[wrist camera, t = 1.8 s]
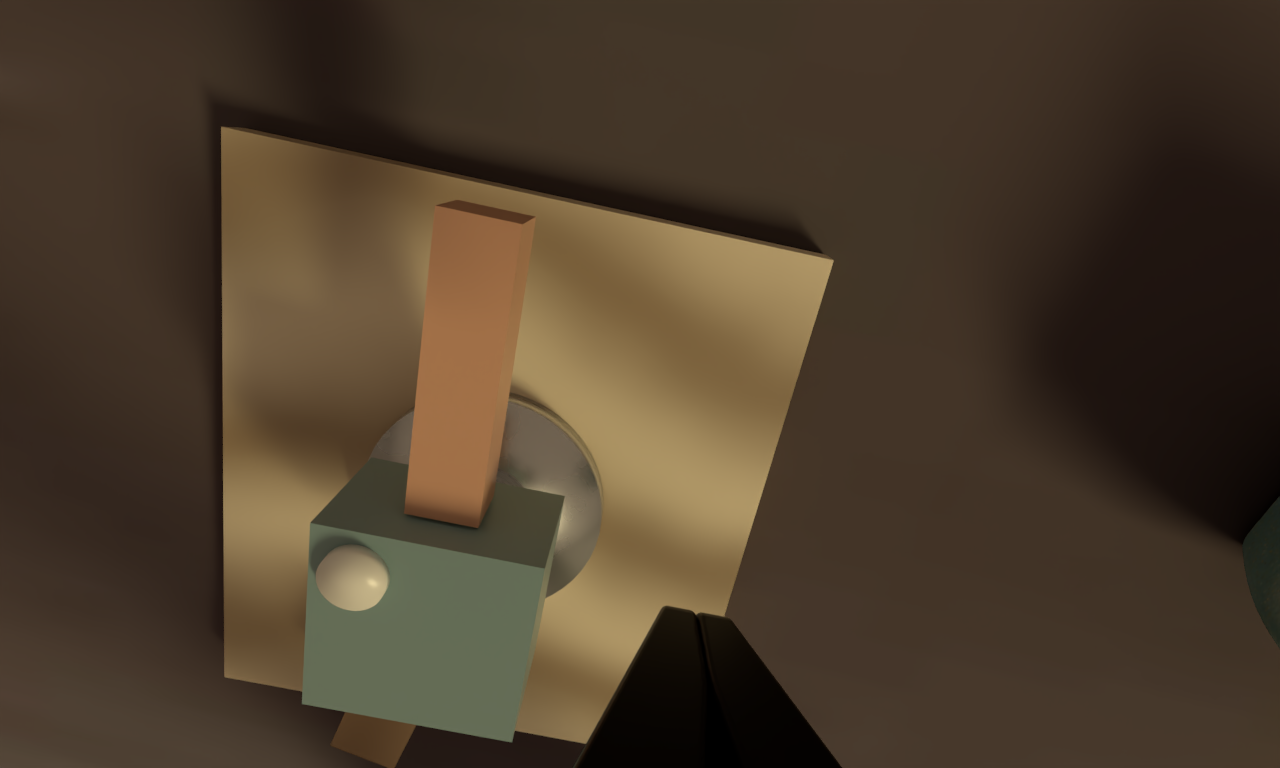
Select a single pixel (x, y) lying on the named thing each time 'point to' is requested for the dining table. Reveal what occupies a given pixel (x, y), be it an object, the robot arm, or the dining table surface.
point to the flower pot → (1265, 568)
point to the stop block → (372, 738)
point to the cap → (440, 517)
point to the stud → (536, 475)
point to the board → (543, 371)
